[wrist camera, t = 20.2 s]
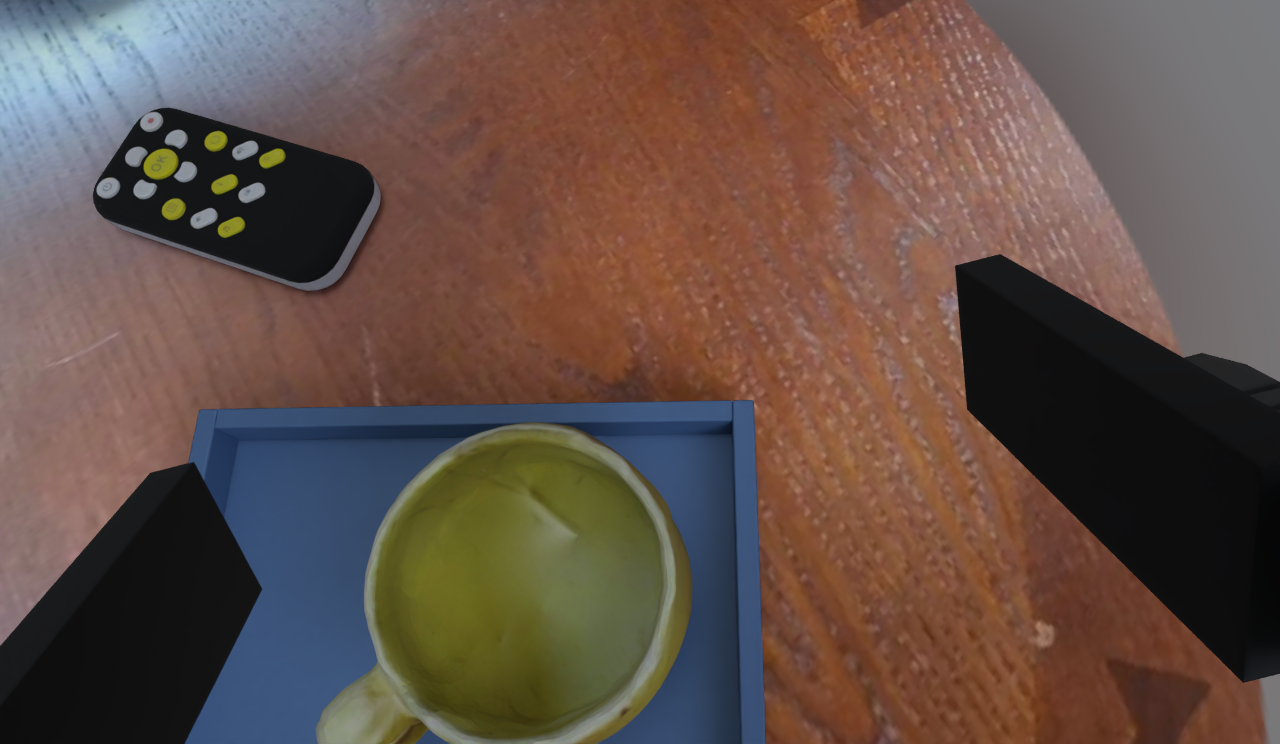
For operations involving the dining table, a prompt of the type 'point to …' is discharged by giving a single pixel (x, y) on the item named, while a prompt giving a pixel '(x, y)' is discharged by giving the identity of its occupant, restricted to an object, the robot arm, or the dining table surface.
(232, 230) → the remote control
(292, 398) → the dining table surface
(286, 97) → the dining table surface
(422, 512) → the mug
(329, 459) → the blue tray
